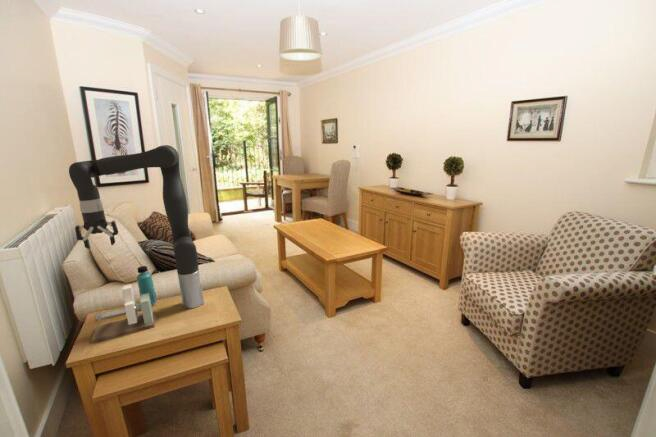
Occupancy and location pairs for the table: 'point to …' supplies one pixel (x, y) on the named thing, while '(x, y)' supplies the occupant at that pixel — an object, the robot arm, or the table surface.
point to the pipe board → (120, 329)
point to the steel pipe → (115, 313)
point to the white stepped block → (130, 304)
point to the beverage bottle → (146, 283)
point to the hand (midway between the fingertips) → (100, 246)
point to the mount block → (146, 308)
